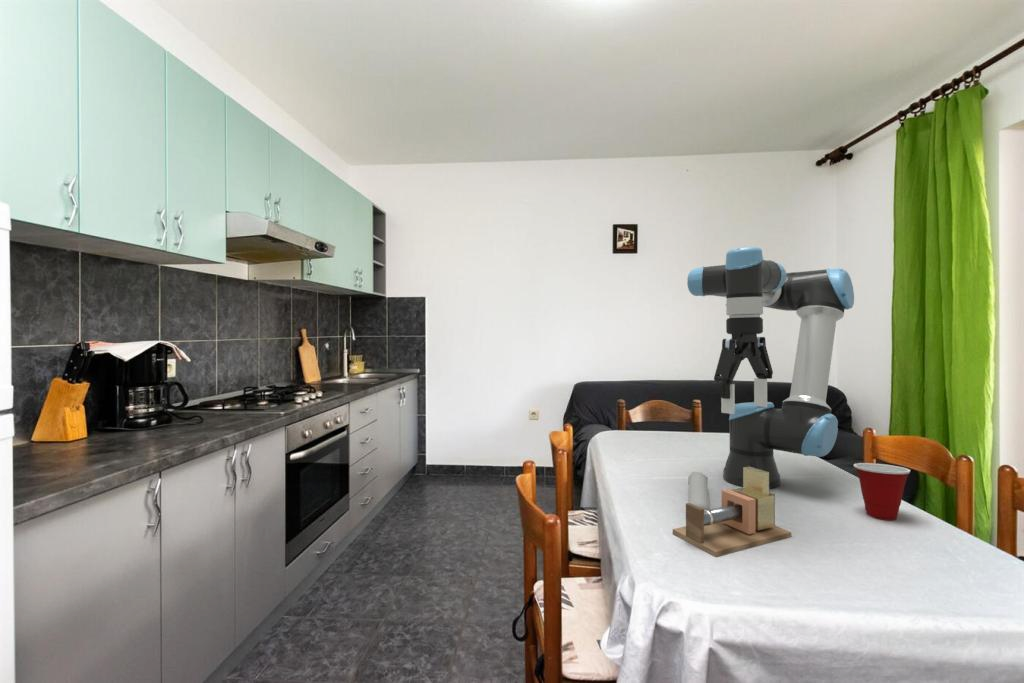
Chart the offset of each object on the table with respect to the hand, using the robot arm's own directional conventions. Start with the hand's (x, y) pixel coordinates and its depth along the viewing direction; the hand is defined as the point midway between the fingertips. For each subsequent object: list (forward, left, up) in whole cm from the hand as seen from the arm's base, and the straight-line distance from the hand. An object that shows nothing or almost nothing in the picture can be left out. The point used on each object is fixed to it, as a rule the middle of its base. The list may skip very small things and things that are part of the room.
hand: (744, 409), depth 110 cm
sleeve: (+1, +3, -25) cm, 25 cm away
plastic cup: (-34, +10, -27) cm, 44 cm away
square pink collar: (+5, +3, -25) cm, 26 cm away
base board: (+7, +3, -27) cm, 28 cm away
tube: (0, -14, -27) cm, 31 cm away
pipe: (+7, +3, -23) cm, 24 cm away
